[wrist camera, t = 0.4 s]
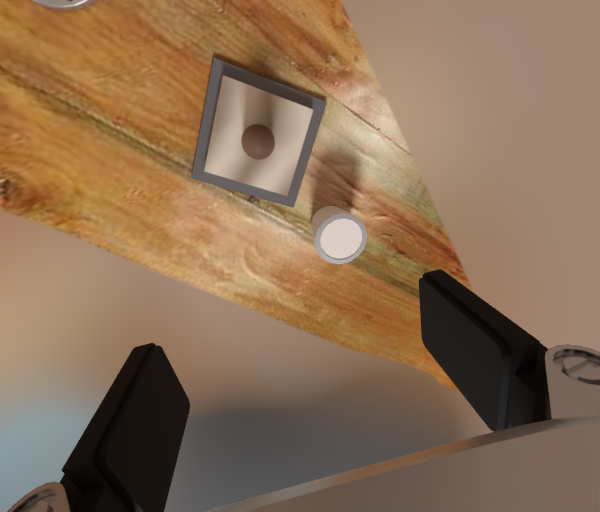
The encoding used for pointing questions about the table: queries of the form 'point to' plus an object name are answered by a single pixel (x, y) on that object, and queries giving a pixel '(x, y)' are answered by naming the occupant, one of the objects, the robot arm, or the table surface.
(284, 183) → the lid
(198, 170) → the mat
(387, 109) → the table surface
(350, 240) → the white cup
